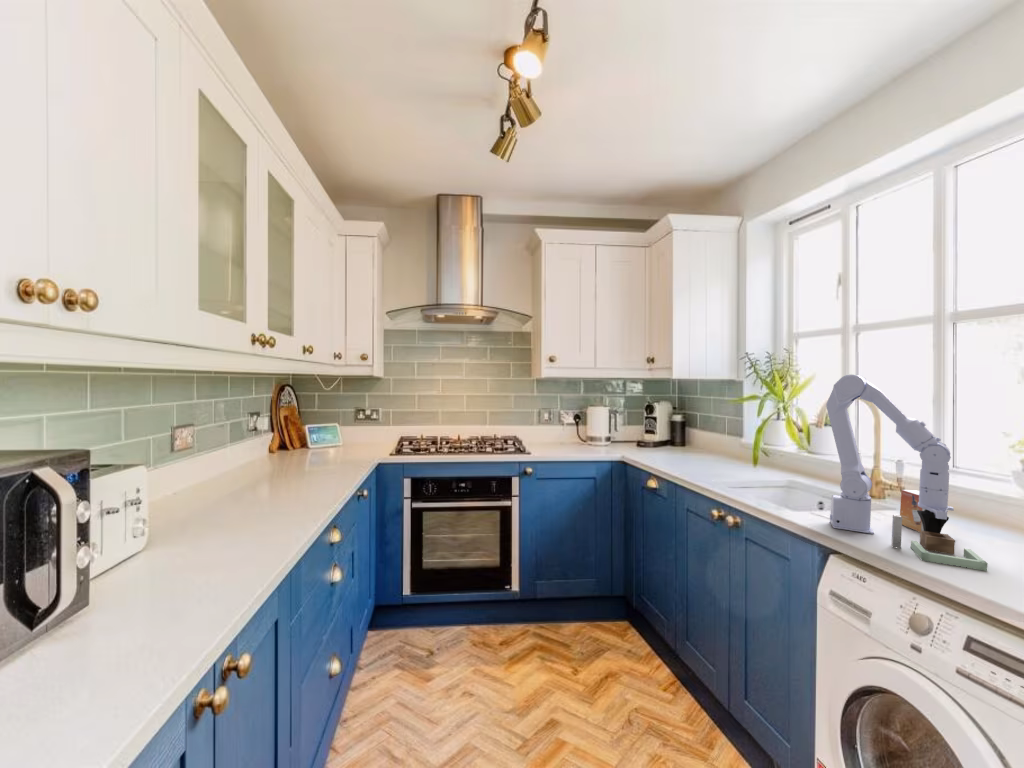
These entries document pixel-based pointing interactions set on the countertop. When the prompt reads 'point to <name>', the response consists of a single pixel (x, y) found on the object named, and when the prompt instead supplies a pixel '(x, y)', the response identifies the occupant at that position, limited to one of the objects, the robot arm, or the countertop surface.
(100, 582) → the countertop surface
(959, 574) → the countertop surface
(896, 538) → the grey upright post
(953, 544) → the walnut block
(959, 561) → the green u-shaped bracket
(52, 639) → the countertop surface
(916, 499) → the small box
